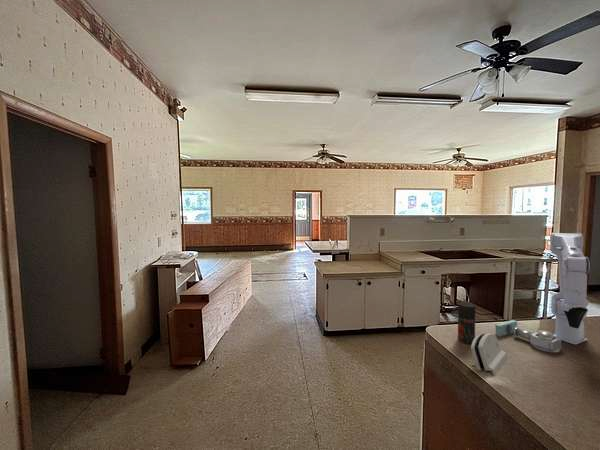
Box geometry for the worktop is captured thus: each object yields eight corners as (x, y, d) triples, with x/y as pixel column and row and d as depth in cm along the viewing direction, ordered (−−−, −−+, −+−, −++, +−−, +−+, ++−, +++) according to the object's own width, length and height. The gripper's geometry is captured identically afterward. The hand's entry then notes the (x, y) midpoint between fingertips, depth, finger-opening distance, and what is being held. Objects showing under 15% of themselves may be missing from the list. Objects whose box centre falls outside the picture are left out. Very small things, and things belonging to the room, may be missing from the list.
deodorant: (476, 345, 106) (477, 307, 105) (459, 343, 108) (459, 306, 107) (472, 338, 111) (473, 302, 111) (456, 336, 113) (456, 301, 113)
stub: (538, 340, 109) (538, 327, 109) (564, 349, 101) (564, 335, 101) (526, 344, 106) (527, 331, 105) (552, 354, 98) (552, 339, 98)
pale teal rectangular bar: (512, 329, 119) (512, 319, 119) (517, 331, 117) (517, 321, 117) (495, 335, 114) (495, 324, 114) (500, 336, 113) (500, 326, 113)
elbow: (561, 348, 102) (562, 338, 102) (552, 352, 99) (552, 342, 99) (520, 333, 114) (520, 325, 114) (510, 337, 111) (510, 328, 111)
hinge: (494, 376, 86) (482, 343, 88) (478, 374, 89) (467, 343, 92) (508, 357, 97) (497, 328, 99) (493, 356, 100) (483, 329, 103)
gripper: (570, 285, 104) (570, 319, 104) (550, 289, 98) (549, 326, 99) (596, 289, 97) (595, 326, 98) (575, 295, 92) (574, 334, 92)
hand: (574, 327), depth 98 cm, fingers closed
